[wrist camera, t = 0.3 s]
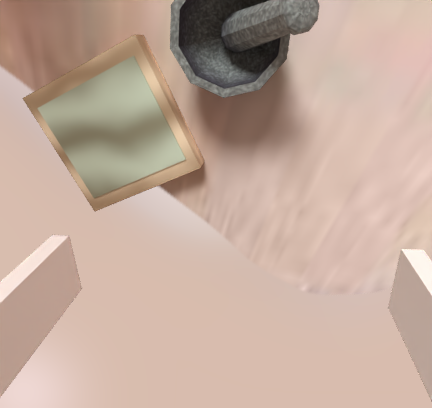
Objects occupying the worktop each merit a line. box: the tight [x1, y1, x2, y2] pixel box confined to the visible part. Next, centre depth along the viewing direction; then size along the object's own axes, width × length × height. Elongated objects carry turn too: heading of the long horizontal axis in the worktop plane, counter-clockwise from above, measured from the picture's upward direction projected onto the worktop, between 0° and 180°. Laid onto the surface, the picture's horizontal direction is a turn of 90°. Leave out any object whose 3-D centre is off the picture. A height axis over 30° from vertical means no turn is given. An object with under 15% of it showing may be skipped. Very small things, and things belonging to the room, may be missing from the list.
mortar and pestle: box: [170, 0, 319, 98], centre depth 28 cm, size 11×9×12 cm
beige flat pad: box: [23, 35, 204, 211], centre depth 37 cm, size 14×14×3 cm
